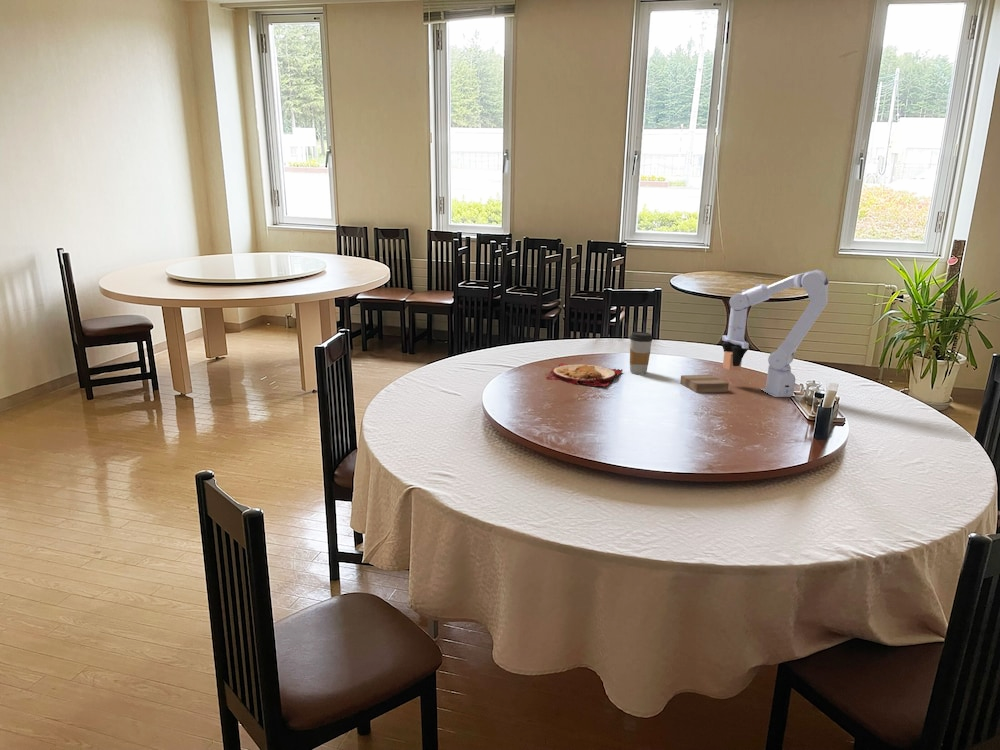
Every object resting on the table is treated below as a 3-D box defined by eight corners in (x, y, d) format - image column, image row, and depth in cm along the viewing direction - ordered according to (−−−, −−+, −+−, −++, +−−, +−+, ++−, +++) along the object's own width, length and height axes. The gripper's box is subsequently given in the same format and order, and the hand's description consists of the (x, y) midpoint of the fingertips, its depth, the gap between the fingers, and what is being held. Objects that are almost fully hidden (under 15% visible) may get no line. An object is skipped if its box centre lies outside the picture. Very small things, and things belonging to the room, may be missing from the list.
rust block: (740, 370, 253) (742, 353, 252) (729, 370, 252) (731, 354, 251) (733, 367, 257) (735, 351, 256) (722, 367, 256) (724, 351, 255)
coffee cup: (651, 375, 265) (654, 336, 262) (628, 374, 265) (632, 335, 262) (647, 370, 273) (650, 332, 270) (625, 369, 273) (628, 331, 270)
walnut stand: (727, 391, 247) (728, 383, 246) (696, 392, 244) (697, 384, 243) (710, 382, 258) (711, 374, 257) (680, 383, 255) (681, 375, 254)
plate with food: (622, 374, 268) (623, 365, 267) (605, 389, 244) (606, 379, 243) (560, 367, 277) (561, 358, 276) (538, 380, 253) (539, 371, 252)
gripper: (716, 323, 257) (712, 359, 260) (737, 330, 243) (732, 369, 247) (733, 323, 259) (729, 359, 262) (756, 330, 245) (751, 368, 248)
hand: (732, 364), depth 254 cm, fingers closed on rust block, 4 cm apart
